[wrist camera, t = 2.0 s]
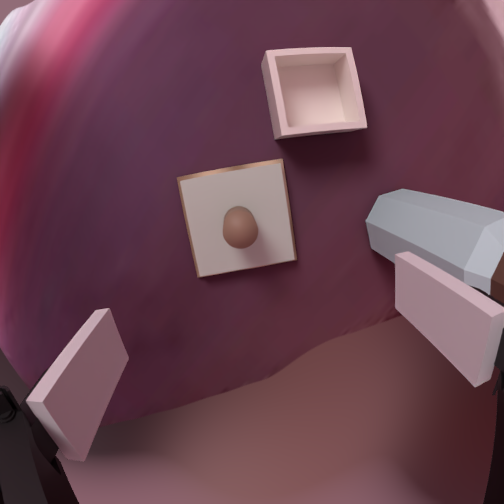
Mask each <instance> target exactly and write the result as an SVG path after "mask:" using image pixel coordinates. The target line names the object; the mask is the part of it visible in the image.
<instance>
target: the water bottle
mask: <svg viewBox="0 0 504 504" xmlns="http://www.w3.org/2000/svg"><path fill="white" fill-rule="evenodd" d="M366 226H367V230H368V235H369V240H370V245H371V248H372V249H373V250H375V251H376V252H378V253H379V254H381V255H382V256H384V257H386V258H387V259H389V260H390V261H392V262H393V263H395V254H398V253H402V252H407V251H409V252H411V253H413V254H415V255H416V256H418V257H420V258H422V259H424V260H425V261H427V262H429V263H431V264H433V265H434V266H436V267H438V268H440V269H441V270H443V271H445V272H447V273H448V274H450V275H452V276H453V277H455V278H457V279H459V280H460V281H462V282H464V283H465V284H467V285H469V286H473V287H476V288H479V289H481V290H483V291H484V292H486V293H488V295H491V296H493V297H494V298H495V299H497V300H499V301H501V302H502V303H504V212H502V211H498V210H494V209H491V208H487V207H483V206H479V205H475V204H471V203H467V202H463V201H458V200H454V199H450V198H445V197H441V196H436V195H431V194H427V193H422V192H417V191H412V190H407V189H400V190H396V191H393V192H390V193H386V194H383V195H380V196H379V197H378V199H377V200H376V202H375V204H374V206H373V208H372V210H371V212H370V214H369V216H368V218H367V219H366Z"/></svg>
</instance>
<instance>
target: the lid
mask: <svg viewBox="0 0 504 504" xmlns="http://www.w3.org/2000/svg"><path fill="white" fill-rule="evenodd" d="M180 184H181V189H182V194H183V199H184V204H185V209H186V214H187V219H188V224H189V229H190V234H191V238H192V243H193V248H194V252H195V257H196V261H197V266H198V270H199V274H200V276H206V275H212V274H218V273H223V272H229V271H235V270H240V269H246V268H252V267H257V266H263V265H268V264H274V263H279V262H285V261H290V260H295V259H294V251H293V243H292V236H291V229H290V222H289V215H288V208H287V201H286V194H285V188H284V181H283V175H282V168H281V163H278V164H272V165H265V166H259V167H252V168H246V169H240V170H235V171H229V172H223V173H218V174H213V175H207V176H202V177H197V178H192V179H187V180H182V181H180Z"/></svg>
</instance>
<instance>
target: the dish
mask: <svg viewBox="0 0 504 504" xmlns="http://www.w3.org/2000/svg"><path fill="white" fill-rule="evenodd" d="M261 67H262V72H263V77H264V83H265V88H266V94H267V99H268V104H269V110H270V116H271V121H272V127H273V133H274V139H275V140H277V139H284V138H292V137H300V136H309V135H319V134H329V133H340V132H351V131H355V130H360V129H364V128H367V122H366V116H365V111H364V105H363V100H362V95H361V90H360V85H359V80H358V75H357V71H356V66H355V62H354V58H353V54H352V50H351V47H318V48H294V49H279V50H268V51H266V52H265V55H264V58H263V61H262V64H261Z"/></svg>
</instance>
